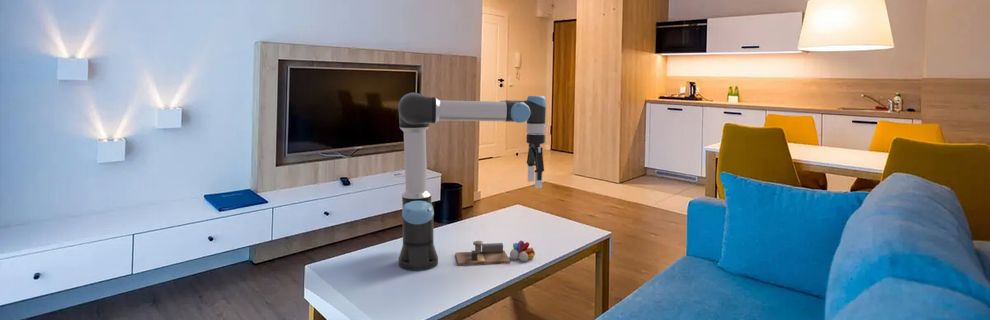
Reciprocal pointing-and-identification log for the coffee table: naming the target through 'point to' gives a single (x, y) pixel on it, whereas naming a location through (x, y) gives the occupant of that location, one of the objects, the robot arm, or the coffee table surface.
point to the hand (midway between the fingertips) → (534, 184)
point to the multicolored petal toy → (522, 251)
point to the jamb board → (481, 256)
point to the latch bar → (492, 247)
